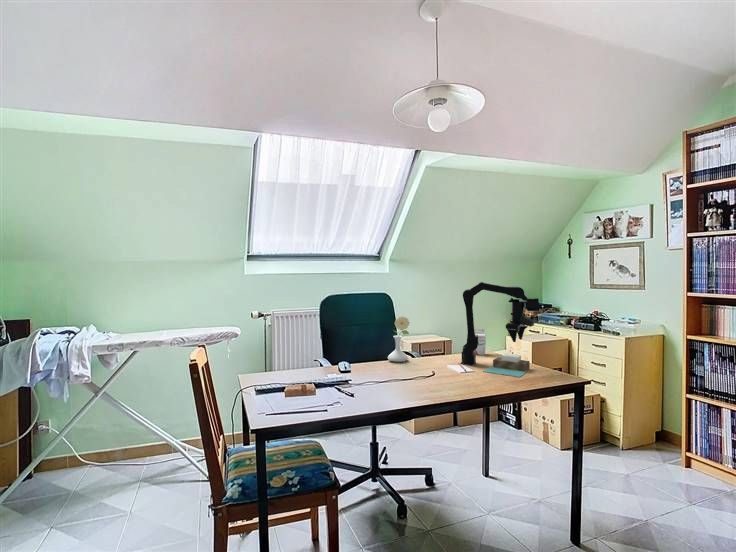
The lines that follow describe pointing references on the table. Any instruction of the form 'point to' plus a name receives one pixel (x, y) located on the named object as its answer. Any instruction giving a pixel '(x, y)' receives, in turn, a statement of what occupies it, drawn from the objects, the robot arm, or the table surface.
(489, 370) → the mat
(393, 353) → the flower in vase
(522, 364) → the brown rectangular block
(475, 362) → the robot arm
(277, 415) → the table surface
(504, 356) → the tile
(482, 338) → the ink cartridge box
